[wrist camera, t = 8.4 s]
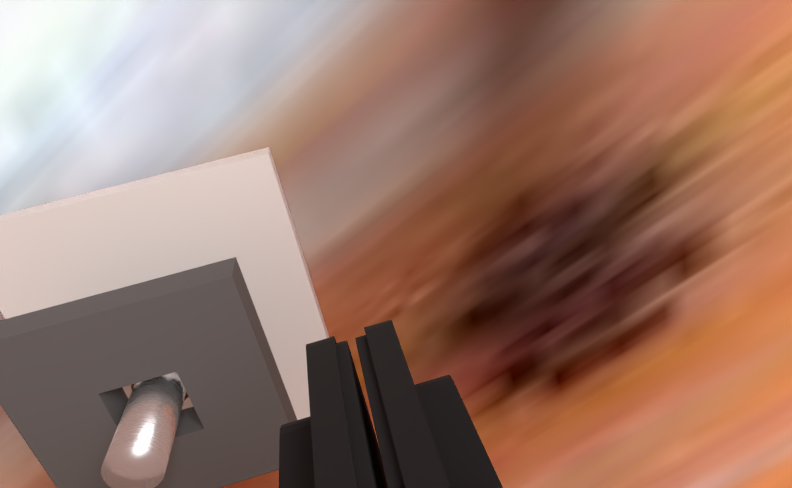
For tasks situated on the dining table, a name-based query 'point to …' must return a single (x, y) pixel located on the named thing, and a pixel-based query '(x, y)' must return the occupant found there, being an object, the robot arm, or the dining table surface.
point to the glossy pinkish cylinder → (145, 434)
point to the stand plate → (172, 250)
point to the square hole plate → (148, 377)
